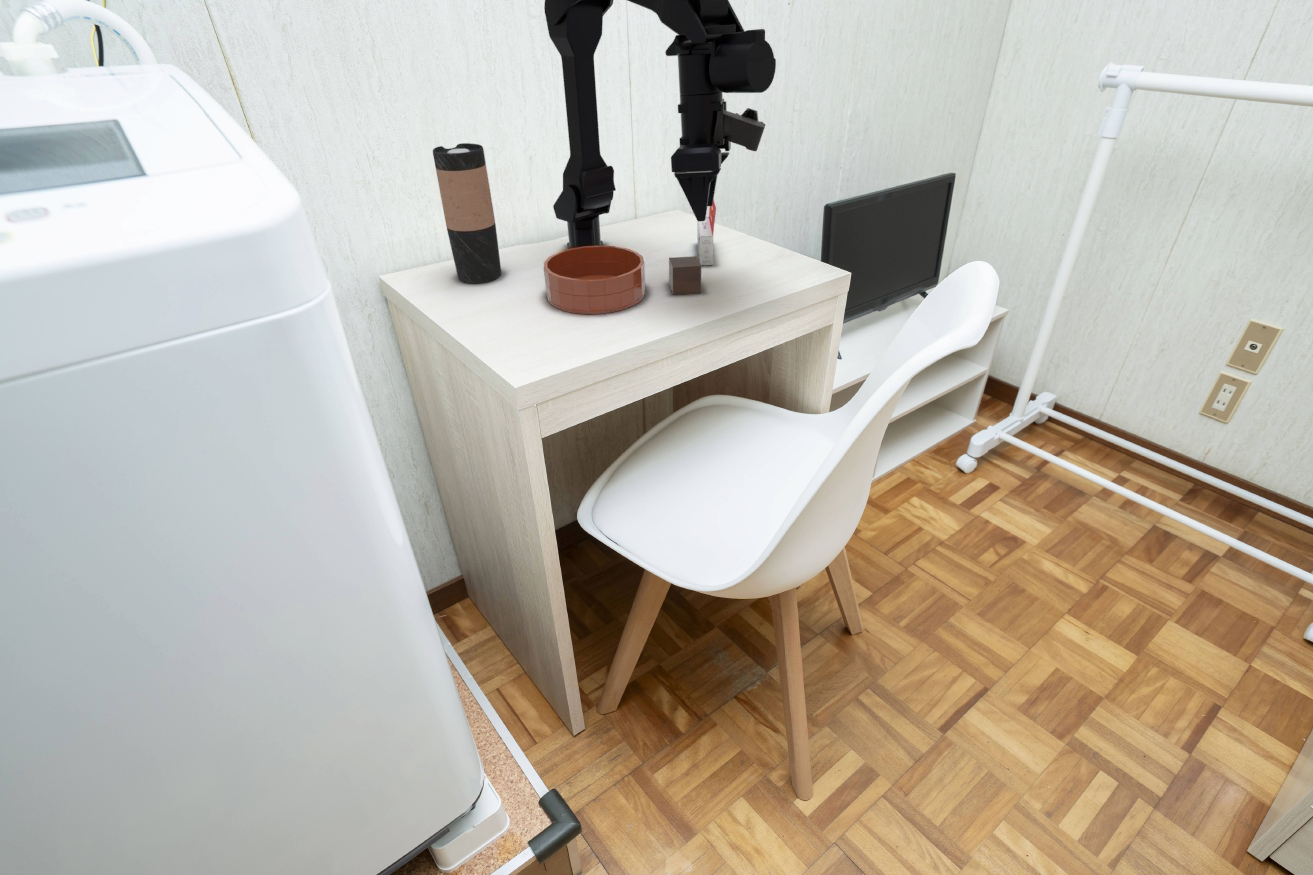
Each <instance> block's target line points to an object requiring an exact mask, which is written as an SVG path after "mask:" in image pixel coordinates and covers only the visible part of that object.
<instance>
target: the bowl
mask: <svg viewBox="0 0 1313 875" xmlns="http://www.w3.org/2000/svg"><path fill="white" fill-rule="evenodd" d="M645 266H646V265H645V259H644V256H643V255H642V254H640V253H639V252H638V251H635V250H633V249H630V248H628V247H627V248H626V247H621V246H615V245H603V246H602V245H597V246H583V247H577V248H571V249H567V248H566V249H565V250H560V251H558V252H556V253H554V254H552V255H550V256H548V257H547V258H546V260H544V261H543V274H544V283H545V284H544V285H545V292H546V298H547V301H548V303H549V304H550V305H551V306H552V307H554V308H556V309H557V310H560V311H564V312H568V313H572V314H579V315H602V314H610V313H615V312H620V311H624V310H626V309H629V308H631V307H633V306H635V305H637V304H638V303H639V302H641V301H642V300H643V299H644V298H645V294H646V278H645V277H646V269H645Z"/></svg>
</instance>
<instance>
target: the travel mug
mask: <svg viewBox="0 0 1313 875" xmlns="http://www.w3.org/2000/svg"><path fill="white" fill-rule="evenodd" d="M432 156H433V161H434V167H435V172H436V178H437V183H438V188H439V195H440V200H441V204H442V205H441V206H442V210H443V216H444V221H445V227H446V232H447V235H448V236H447V237H448V240H449V244H450V248H451V253H452V258H453V262H454V266H455V270H456V274H457V275H456V276H457V279H458V280H459V281H460V282H462V283H464V284H465V283H466V284H475V285H476V284H484V283H485V284H486V283H489V282H493V281H495V280H497V279H499V278H500V277H501V276H502V267H501V266H502V265H501V259H500V251H499V250H500V249H499V242H498V234H497V226H496V225H497V224H496V218H495V211H494V207H493V200H492V193H491V188H490V181H489V175H488V169H487V168H488V167H487V164H486V157H485V151H484V147H483V146H482V145H481V144H479V143H470V142H468V143H467V142H463V143H458V144H457V145H456V146H455V147H452V148H446V147H444V146H442V145H439V146H436V147H434V148H433V149H432Z"/></svg>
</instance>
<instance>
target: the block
mask: <svg viewBox="0 0 1313 875" xmlns="http://www.w3.org/2000/svg"><path fill="white" fill-rule="evenodd" d="M668 285H669V289H670V291H671V294H672V295H673V296H676V295H677V296H678V295H693V294H701V292H702V265H701V264H700V260H699V257H698V256H697V255H696V256H695V255H694V256H693V255H692V256H677V257H668Z"/></svg>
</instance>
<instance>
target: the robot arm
mask: <svg viewBox="0 0 1313 875" xmlns="http://www.w3.org/2000/svg"><path fill="white" fill-rule="evenodd" d="M626 1H628V2H630V3H632V4H634V5H637V6H640V7H642V8H645V9H648V10H650V11H652V12H653V13H654V14H656V15H657V17H658V19H659V21H660V23H661V24H662V25H664V26H665V27H666V28H668V29H670V30H671V31H672V32H673V33H675V34H676V35H675V36H674V39H673V41H672V42H671V43H670V45H668V46H667V49H666V50H665V52H664V53H665V56H666V57H676V56H677V67H678V86H679V103H678V104H677V113H678V114H680V126H681V129H680V130H681V136H680V137H679V147H678V148H677V149H676V150H675V151H674V152H673V154H672V155H671V156H670V167H671V168H670V169H671V173H673V175H674V177H675V178H676V180H677V182H678V184H679V186H680V187H681V190H682V192H683V193H684V196H685V198H686V200H687V202H688V204H689V206H690V208H691V210H692V213H693V214H694V217H695V219H696V222H697V221H705V219H706V217H707V213H708V212H707V211H708V207H710V206H712V205H713V199H714V200H715V193H716V186H717V181H718V175H719V174H720V172H721V170H722V164H723V163H724V162H725V161H726V160H727V158H728V157H729V155H730V151H731V148H732V147H731V146H732V143H733V144H735V145H738V146H742V147H744V148H745V149H746V150H748V151H752V152H757V151H758V149H759V146H760V143H761V140H762V137H763V133H764V131H765V128H766V124H765V123H764V121H759V113H758V110H755V109H753V108H750V107H747V108H746V109H745V110H744V111H743V112H742V114H739V113H737V112H736V113H735V112H732V111H728V109H727V108H728V107H727V101H726V100H725V98H724V97H723V93H725V94H756V93H757V94H760V93H764V92H766V91H767V90H768V89H769V88H770V86H771V85H772V84H773V81H774V78H775V74H776V69H777V59H776V58H775V54H774V51H773V47H772V46H771V44H770V43H769V42H768V41H767V40H766V30H765V28H758V29H757V28H756V29H748V30H745V29H744V27H743V25H742V23H741V21H740V20H739V18H738V16H737V14H736V12H735V10H734V8H733V7H732V4H731V2H730V0H626ZM613 4H614V0H544V5H543V6H544V15H545V21H546V26H547V32H548V37H549V38H550V40H551V42H552V43H553V45H554V47H555V48H556V50H557V52H558V53H559V56H560V58H561V68H562V78H563V88H564V89H563V90H564V99H565V100H564V102H565V111H566V123H567V130H568V131H567V133H568V144H569V145H568V146H569V158H568V160H567V162H566V165H565V167H564V170H563V173H562V191H561V192H560V194H559V196H558V197H557V199H556V201H555V202H554V204H553V205H552V208H553V211H554V215H555V219H557V220H561V221H563V222H566V223H567V224H566V225H567V232H568V242H567V243H566V245H567V246H566V247H567V248H566V250H567V249H571V248H577V247H583V246H597V245H602V246H604V242H603V240H601V226H600V224H601V223H600V216H601V215H606V214H610V210H611V205H612V201H613V199H614V194H615V193H614V192H615V191H616V190H617V189H616V186H615V180H614V179H615V170H614V167H613V165H608V164H607V162H606V161H605V160H604V157H603V156H602V154H601V146H600V130H599V116H598V115H599V114H598V100H597V87H596V86H597V85H596V84H597V83H596V72H595V69H596V68H595V53H596V50H597V49H598V46H599V44H600V41H601V39H602V35H603V24H604V23H603V22H604V20H603V18H604V16H605V15H606V14H607V12H608V11H609V10H610V9H611V8H612V6H613ZM722 150H724V151H725V152H722Z"/></svg>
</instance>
